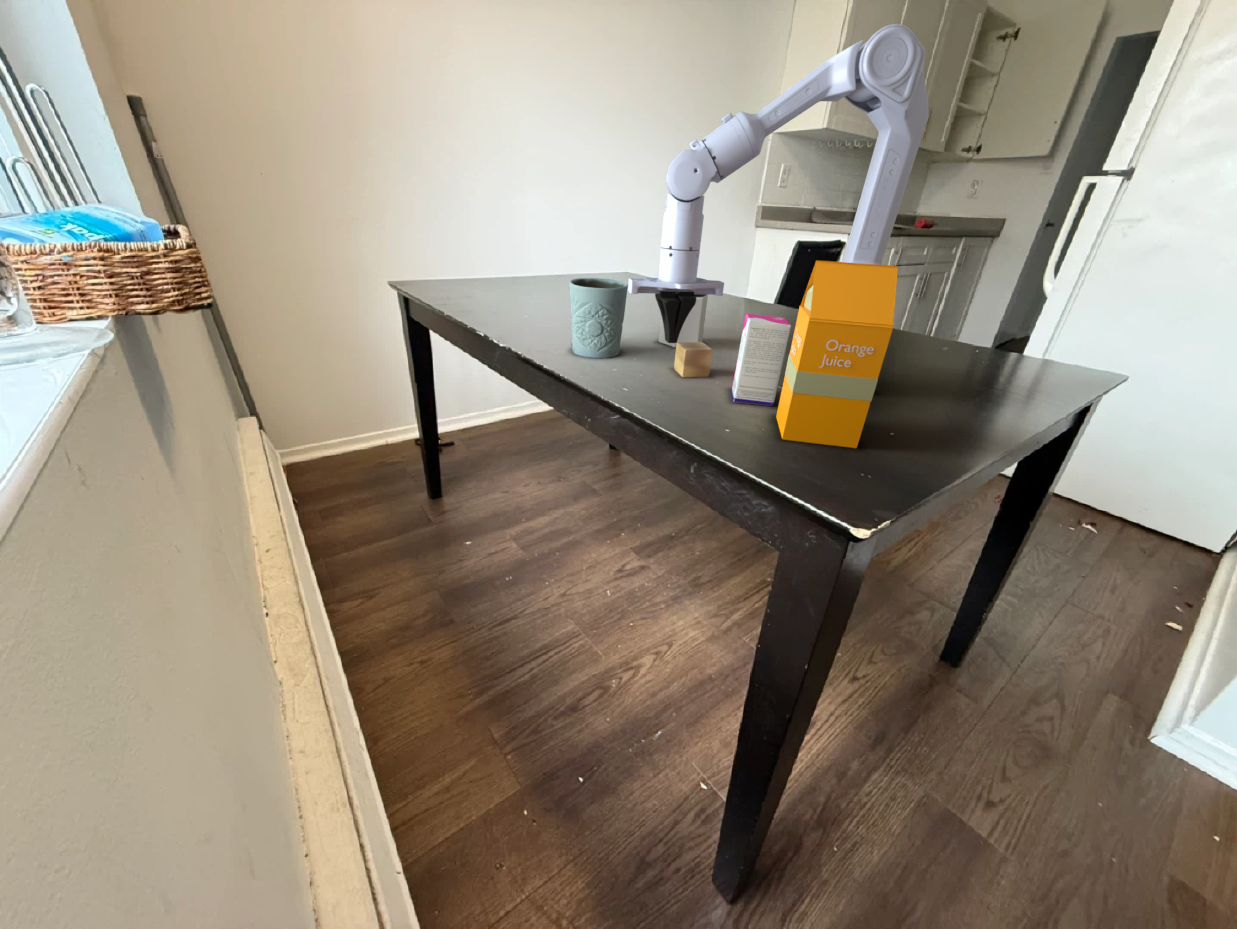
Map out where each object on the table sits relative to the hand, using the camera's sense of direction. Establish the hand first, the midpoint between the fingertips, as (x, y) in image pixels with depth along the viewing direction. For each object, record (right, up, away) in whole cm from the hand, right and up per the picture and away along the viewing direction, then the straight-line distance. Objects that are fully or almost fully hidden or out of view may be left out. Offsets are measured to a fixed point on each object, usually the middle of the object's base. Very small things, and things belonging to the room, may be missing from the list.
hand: (670, 341), depth 80 cm
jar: (+4, +5, +21) cm, 22 cm away
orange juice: (+16, -15, -16) cm, 28 cm away
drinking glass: (-12, +1, +12) cm, 17 cm away
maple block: (+4, -4, +3) cm, 7 cm away
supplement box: (+11, -10, -6) cm, 16 cm away
